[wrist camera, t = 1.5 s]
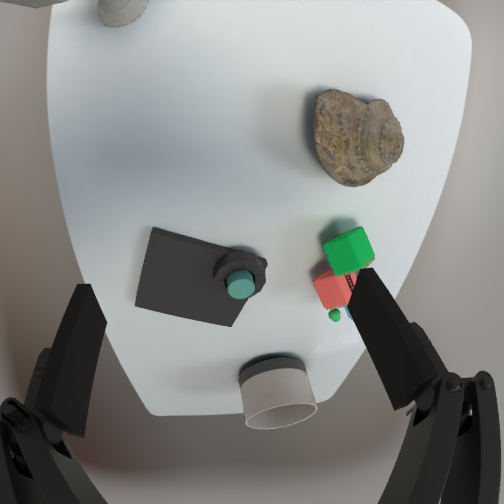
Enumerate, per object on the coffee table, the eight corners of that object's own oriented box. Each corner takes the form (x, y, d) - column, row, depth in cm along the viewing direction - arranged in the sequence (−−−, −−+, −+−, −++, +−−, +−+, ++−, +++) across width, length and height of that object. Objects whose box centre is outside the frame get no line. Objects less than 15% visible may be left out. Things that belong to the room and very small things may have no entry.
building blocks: (331, 234, 39) (361, 306, 39) (297, 254, 34) (333, 336, 34) (375, 216, 33) (406, 298, 33) (346, 236, 28) (384, 332, 28)
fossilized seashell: (352, 204, 29) (378, 211, 22) (279, 142, 28) (286, 130, 21) (402, 138, 27) (435, 131, 20) (335, 77, 26) (355, 53, 19)
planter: (262, 390, 55) (271, 432, 47) (224, 371, 48) (230, 421, 40) (313, 366, 52) (328, 410, 44) (282, 342, 45) (296, 396, 37)
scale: (135, 299, 35) (132, 316, 33) (155, 219, 29) (150, 234, 26) (230, 321, 40) (232, 337, 38) (269, 252, 34) (274, 268, 31)
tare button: (222, 285, 32) (223, 296, 31) (232, 266, 31) (233, 276, 29) (246, 291, 33) (248, 301, 32) (256, 272, 32) (259, 282, 30)
